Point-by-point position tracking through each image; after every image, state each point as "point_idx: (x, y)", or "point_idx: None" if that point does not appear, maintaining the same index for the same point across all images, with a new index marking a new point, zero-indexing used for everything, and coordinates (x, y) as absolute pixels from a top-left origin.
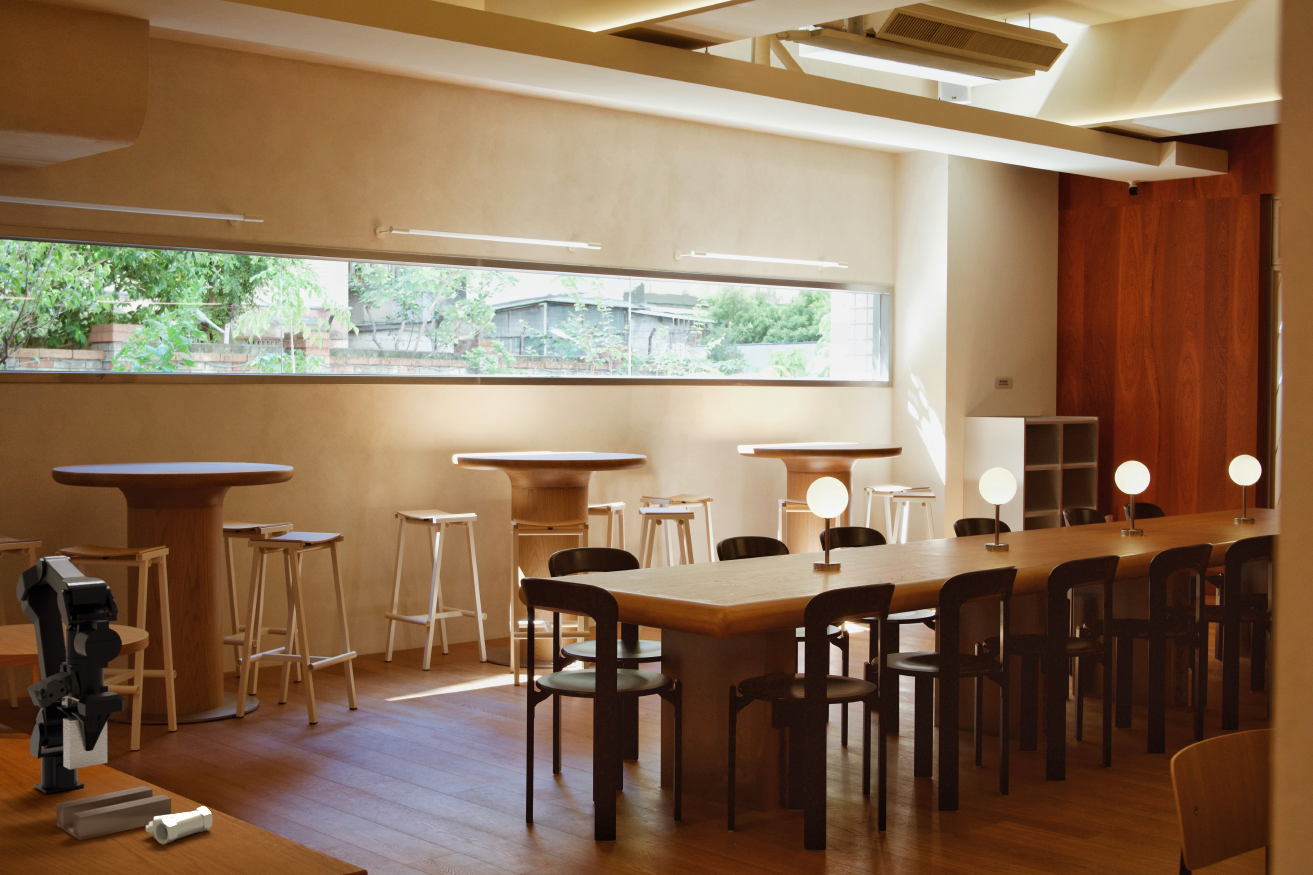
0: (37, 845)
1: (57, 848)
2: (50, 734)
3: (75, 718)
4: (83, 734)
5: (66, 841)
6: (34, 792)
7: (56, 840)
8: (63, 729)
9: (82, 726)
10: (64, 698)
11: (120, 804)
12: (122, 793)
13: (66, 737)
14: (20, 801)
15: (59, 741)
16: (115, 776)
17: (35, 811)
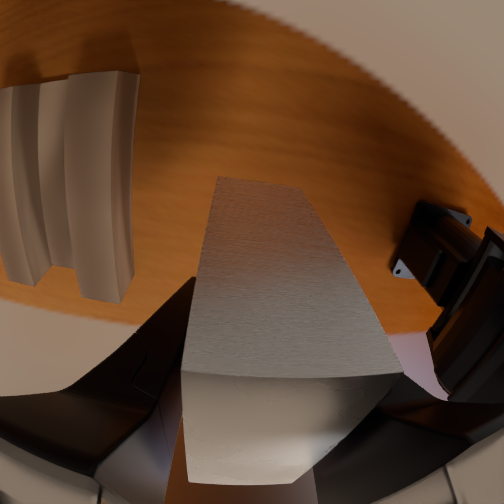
0: (50, 15)
1: (11, 45)
2: (501, 285)
3: (265, 422)
4: (164, 327)
5: (29, 65)
6: (448, 195)
7: (46, 49)
8: (358, 291)
9: (135, 368)
10: (500, 499)
11: (10, 195)
12: (86, 241)
13: (278, 252)
14: (424, 137)
15: (472, 293)
16: (388, 329)
17: (319, 100)
